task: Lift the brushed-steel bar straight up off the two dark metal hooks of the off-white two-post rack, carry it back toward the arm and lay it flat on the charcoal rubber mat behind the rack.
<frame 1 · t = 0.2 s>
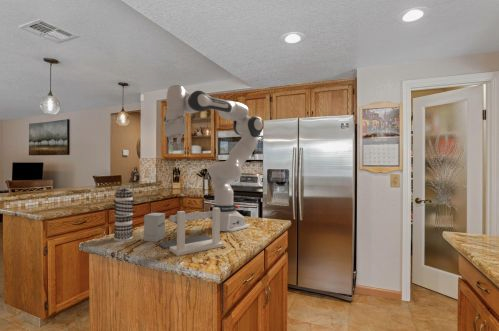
hand: (174, 144, 135), 47 cm above the table, fingers open, 8 cm apart
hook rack: (199, 249, 116), on the table
supplement box: (154, 239, 130), on the table
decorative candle: (123, 238, 131), on the table
steel bar: (196, 218, 119), point 13 cm above the table, touching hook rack
rubber mat: (186, 242, 127), on the table
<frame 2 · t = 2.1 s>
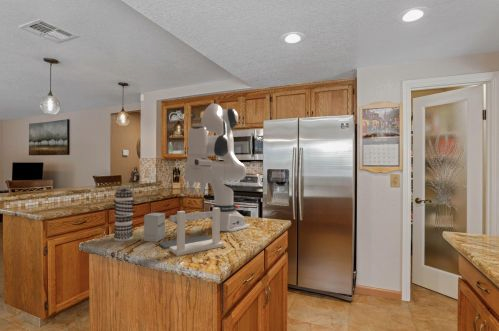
hand: (196, 192, 119), 25 cm above the table, fingers open, 8 cm apart
nothing on the table moved.
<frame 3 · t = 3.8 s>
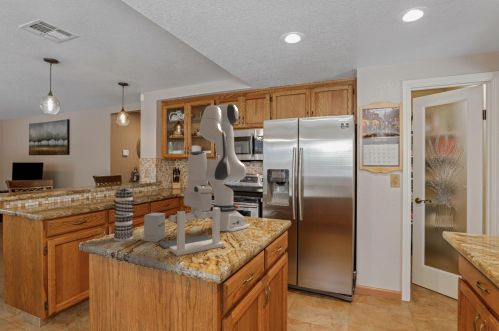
hand: (196, 217, 119), 13 cm above the table, fingers closed on steel bar, 2 cm apart
steel bar: (196, 218, 119), point 13 cm above the table, touching gripper, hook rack
everything else where it was.
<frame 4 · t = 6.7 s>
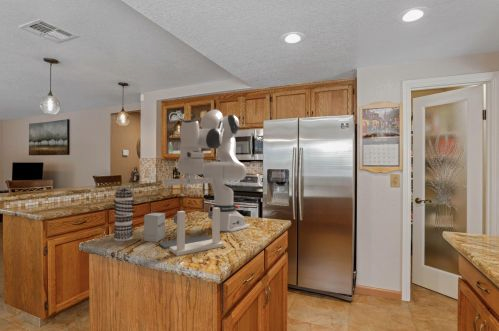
hand: (189, 183, 125), 28 cm above the table, fingers closed on steel bar
steel bar: (189, 183, 125), point 28 cm above the table, touching gripper
everything else where it was.
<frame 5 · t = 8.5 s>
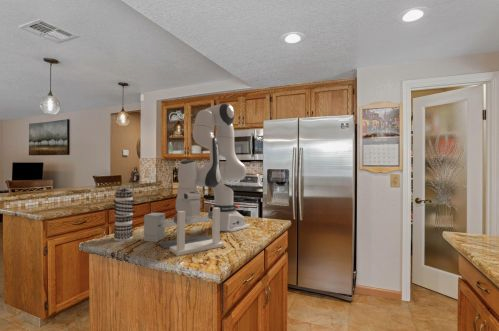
hand: (186, 222, 126), 9 cm above the table, fingers closed on steel bar, 2 cm apart
steel bar: (186, 223, 126), point 9 cm above the table, touching gripper
everything else where it was.
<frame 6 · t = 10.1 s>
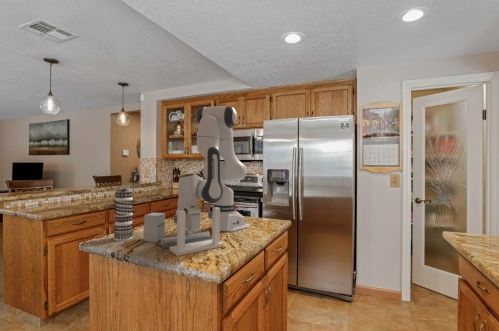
hand: (186, 236, 127), 3 cm above the table, fingers open, 4 cm apart
steel bar: (186, 240, 127), point 1 cm above the table, touching rubber mat
everything else where it was.
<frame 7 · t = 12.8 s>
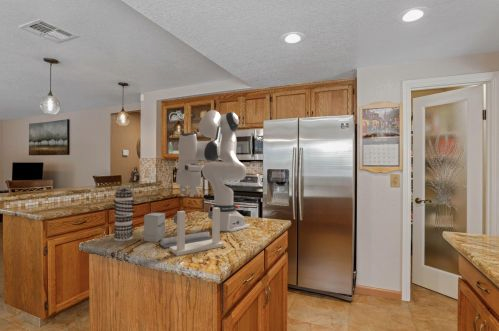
hand: (187, 195, 127), 22 cm above the table, fingers open, 8 cm apart
nothing on the table moved.
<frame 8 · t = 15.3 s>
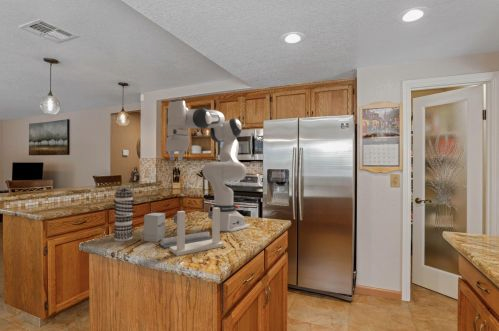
hand: (176, 160, 130), 39 cm above the table, fingers open, 8 cm apart
nothing on the table moved.
at the end: steel bar inside the target area on the rubber mat (0.0 cm from its centre), point 0.8 cm above the rubber mat's base; steel bar touching rubber mat; steel bar tilted 0° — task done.
